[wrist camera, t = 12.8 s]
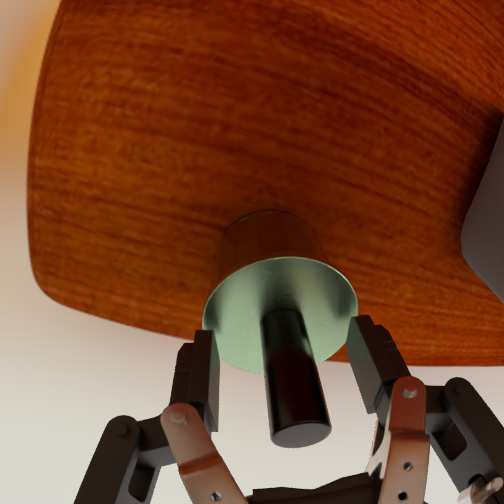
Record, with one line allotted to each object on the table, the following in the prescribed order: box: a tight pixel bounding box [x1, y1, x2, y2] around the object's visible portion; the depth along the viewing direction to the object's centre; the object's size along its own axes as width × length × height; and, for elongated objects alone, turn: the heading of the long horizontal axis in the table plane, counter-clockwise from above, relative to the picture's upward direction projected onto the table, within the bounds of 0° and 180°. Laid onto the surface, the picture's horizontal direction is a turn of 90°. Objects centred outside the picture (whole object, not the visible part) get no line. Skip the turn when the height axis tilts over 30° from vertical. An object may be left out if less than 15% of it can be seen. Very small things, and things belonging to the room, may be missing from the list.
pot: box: [212, 210, 330, 287], centre depth 16 cm, size 6×6×5 cm
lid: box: [202, 251, 358, 448], centre depth 11 cm, size 7×7×7 cm
